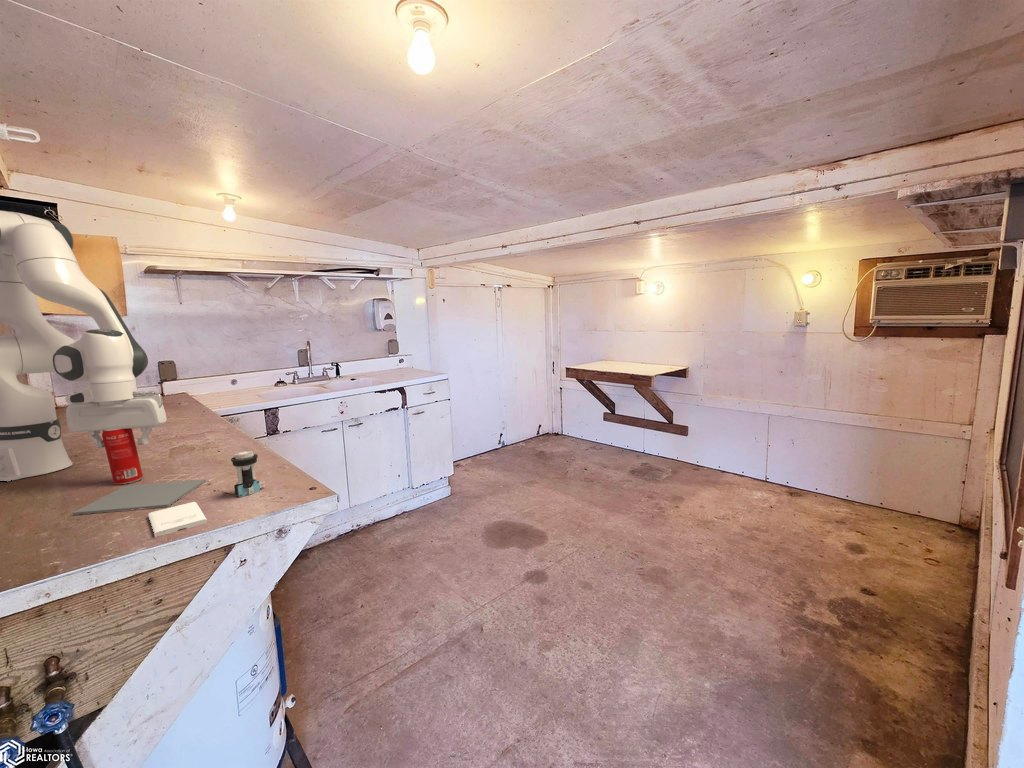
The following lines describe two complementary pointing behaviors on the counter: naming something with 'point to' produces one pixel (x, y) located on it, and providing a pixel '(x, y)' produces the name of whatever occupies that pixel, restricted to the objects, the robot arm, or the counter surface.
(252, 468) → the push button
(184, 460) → the counter surface
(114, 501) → the mat
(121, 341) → the robot arm
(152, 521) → the external hard drive
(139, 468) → the beverage can
